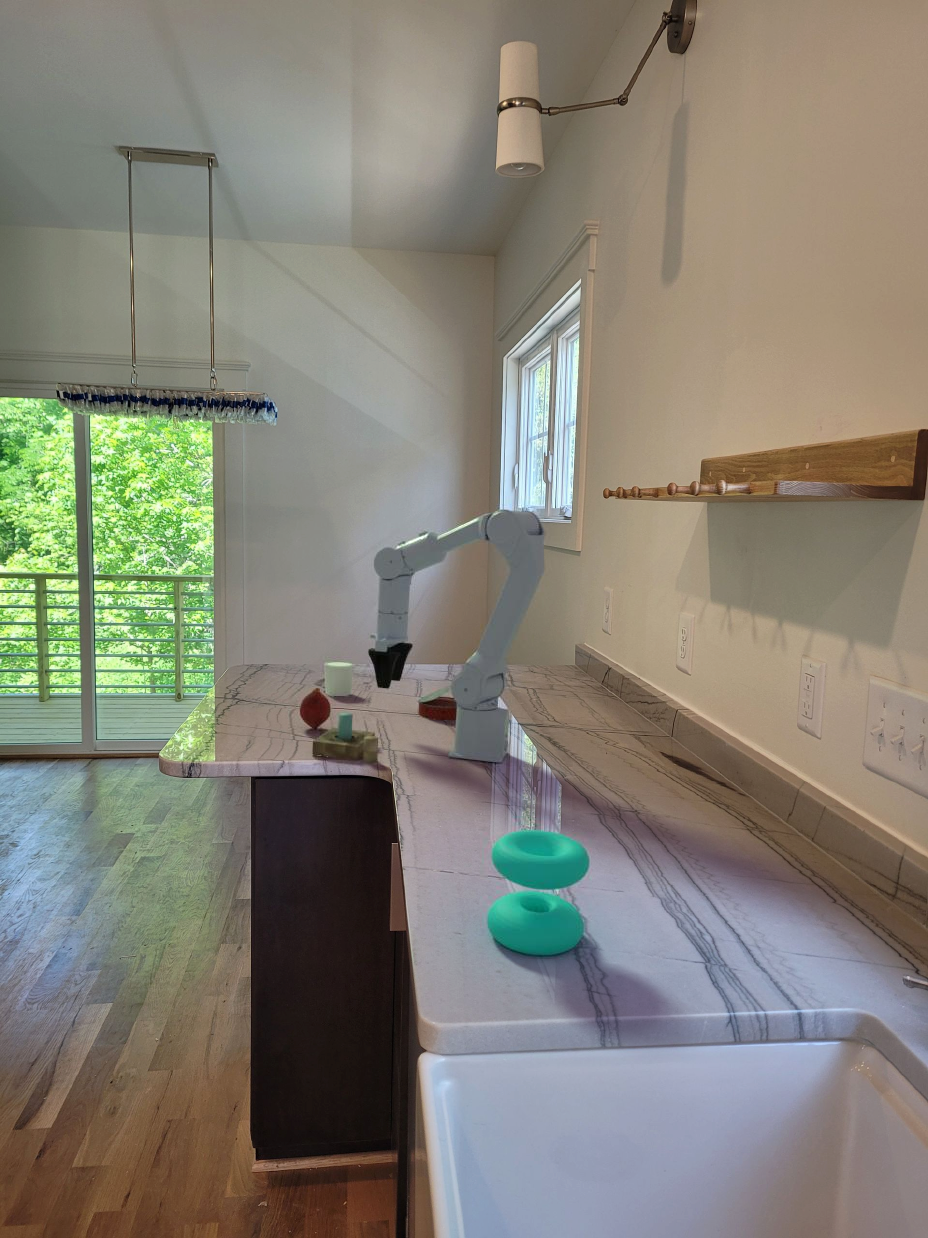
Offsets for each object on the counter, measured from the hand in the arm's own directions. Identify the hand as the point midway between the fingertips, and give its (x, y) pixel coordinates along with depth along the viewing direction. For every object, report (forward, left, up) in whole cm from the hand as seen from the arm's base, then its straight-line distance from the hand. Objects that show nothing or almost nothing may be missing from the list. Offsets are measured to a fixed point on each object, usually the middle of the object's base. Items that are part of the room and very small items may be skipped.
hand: (389, 684), depth 164 cm
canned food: (-6, -21, -10) cm, 24 cm away
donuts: (-36, +70, -10) cm, 79 cm away
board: (+4, +13, -10) cm, 17 cm away
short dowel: (-2, +17, -10) cm, 20 cm away
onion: (+14, +1, -10) cm, 17 cm away
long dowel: (+4, +13, -10) cm, 17 cm away
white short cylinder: (+20, -30, -10) cm, 37 cm away
